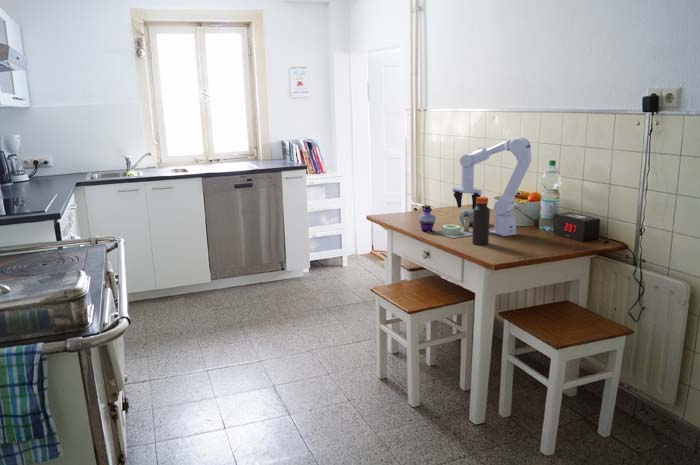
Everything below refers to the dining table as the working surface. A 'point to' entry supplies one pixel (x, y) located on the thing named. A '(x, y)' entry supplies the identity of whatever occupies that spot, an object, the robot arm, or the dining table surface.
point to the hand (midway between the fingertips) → (466, 208)
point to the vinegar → (481, 222)
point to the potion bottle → (427, 219)
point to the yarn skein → (466, 215)
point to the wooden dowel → (466, 224)
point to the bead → (451, 229)
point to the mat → (462, 234)
